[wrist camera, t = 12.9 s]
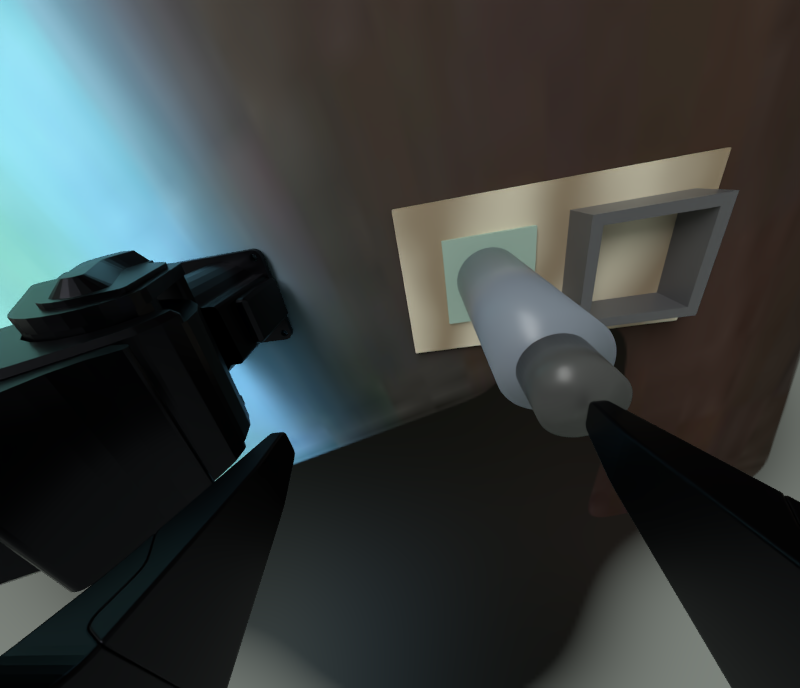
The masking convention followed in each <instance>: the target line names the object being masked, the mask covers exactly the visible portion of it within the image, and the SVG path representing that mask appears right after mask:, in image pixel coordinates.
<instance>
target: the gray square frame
mask: <svg viewBox="0 0 800 688" xmlns="http://www.w3.org/2000/svg"><path fill="white" fill-rule="evenodd" d="M738 192H739V190H724V189H702V188H694V189H688V190H683V191H677V192H671V193H665V194H659V195H654V196H648V197H642V198H636V199H631V200H625V201H619V202H613V203H607V204H602V205H596V206H590V207H584V208H579V209H573V210H570V216H569V226H568V236H567V246H566V256H565V266H564V276H563V286H562V293H564V294H565V295H566V296H568V297H569V298H570V299H571V300H573V301H574V302H575V303H577V304H578V305H579V306H581V307H582V308H583V309H584V310H586V311H587V312H588V313H590V314H591V315H592V316H594V317H595V318H596V319H598V320H599V321H600V322H601V323H603V324H604V325H605V326H614V325H622V324H630V323H638V322H645V321H653V320H661V319H669V318H677V317H685V316H692V315H696V313H697V310H698V307H699V305H700V302H701V299H702V296H703V293H704V290H705V287H706V284H707V281H708V279H709V276H710V273H711V270H712V267H713V264H714V261H715V258H716V255H717V253H718V250H719V247H720V244H721V241H722V238H723V235H724V232H725V229H726V227H727V224H728V221H729V218H730V215H731V212H732V209H733V206H734V203H735V201H736V198H737V195H738ZM676 213H678V214H677V218H676V222H675V225H674V229H673V233H672V237H671V240H670V244H669V248H668V252H667V256H666V259H665V263H664V267H663V271H662V274H661V278H660V282H659V286H658V290H657V292H655V293H648V294H641V295H634V296H626V297H619V298H612V299H605V300H597V301H592V298H593V291H594V285H595V279H596V272H597V266H598V259H599V253H600V246H601V240H602V233H603V227H604V225H609V224H615V223H622V222H628V221H634V220H640V219H646V218H652V217H658V216H664V215H670V214H676Z"/></svg>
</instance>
